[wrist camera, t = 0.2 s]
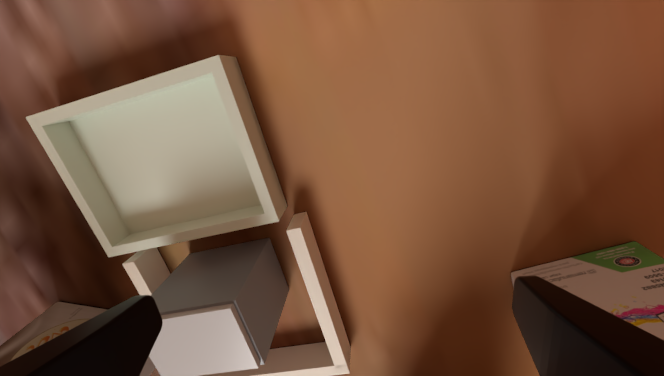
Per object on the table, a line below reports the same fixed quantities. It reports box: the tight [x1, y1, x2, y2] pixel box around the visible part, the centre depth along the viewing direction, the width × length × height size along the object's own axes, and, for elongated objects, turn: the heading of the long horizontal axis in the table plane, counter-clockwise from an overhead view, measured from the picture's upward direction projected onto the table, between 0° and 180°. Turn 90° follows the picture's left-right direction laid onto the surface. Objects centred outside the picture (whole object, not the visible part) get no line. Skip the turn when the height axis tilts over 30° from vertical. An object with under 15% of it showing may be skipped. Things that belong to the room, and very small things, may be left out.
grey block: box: [149, 238, 289, 376], centre depth 22 cm, size 5×7×7 cm
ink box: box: [511, 241, 664, 340], centre depth 17 cm, size 8×5×12 cm, turn 112°
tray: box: [26, 55, 287, 257], centre depth 21 cm, size 10×14×2 cm
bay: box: [122, 212, 351, 376], centre depth 25 cm, size 14×14×2 cm
